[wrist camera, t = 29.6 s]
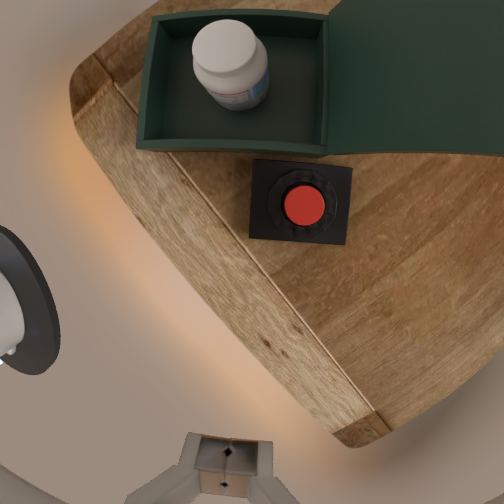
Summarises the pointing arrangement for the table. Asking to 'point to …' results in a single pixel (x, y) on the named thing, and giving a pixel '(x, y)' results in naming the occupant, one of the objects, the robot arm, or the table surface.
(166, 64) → the box
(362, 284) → the table surface
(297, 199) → the button
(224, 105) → the pill bottle
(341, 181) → the control block
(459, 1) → the box lid
